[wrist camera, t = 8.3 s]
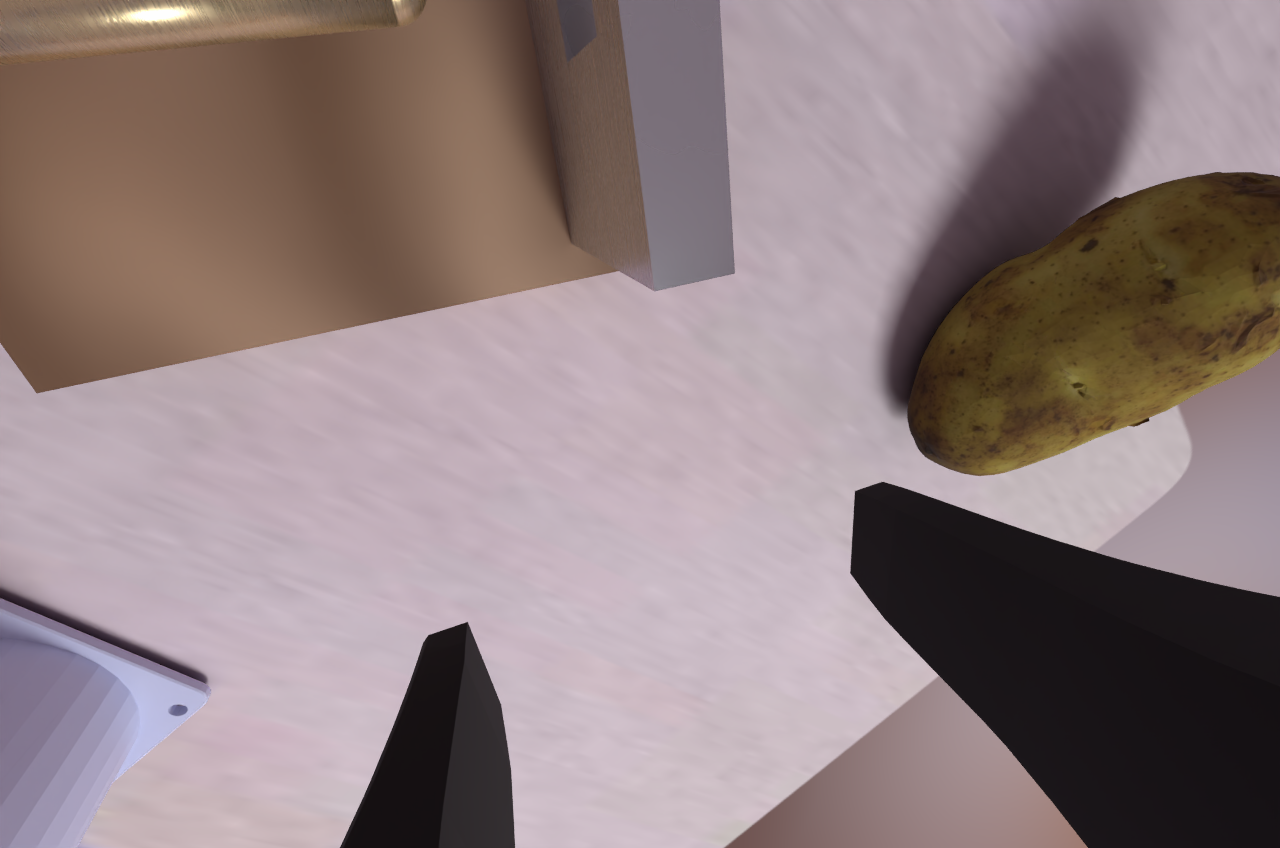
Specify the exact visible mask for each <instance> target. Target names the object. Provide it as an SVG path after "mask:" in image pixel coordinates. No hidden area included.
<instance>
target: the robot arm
mask: <svg viewBox="0 0 1280 848" xmlns="http://www.w3.org/2000/svg"><path fill="white" fill-rule="evenodd" d="M850 573H851V575H852V576H853V577H854V579H855V580H856V582H857V583H858V584H859V586H860V587H861V588H862V590H863V591H864V593H865V594H866V595H867V597H868V598H869V599H870V601H871V602H872V603H873V604H874V606H875V607H876V608H877V610H878V611H879V612H880V613H881V615H882V616H883V617H884V619H885V620H886V621H887V622H888V623H889V624H890V625H891V626H892V627H893V628H894V629H895V630H896V631H897V632H898V634H899V635H900V636H901V637H902V638H903V639H904V640H905V641H906V642H907V643H908V644H909V645H910V646H911V647H912V648H913V649H914V650H915V651H916V652H917V653H918V654H919V655H920V656H921V657H922V659H923V660H924V661H925V662H926V663H927V664H928V665H929V666H930V667H931V668H932V669H933V670H934V671H935V672H936V673H937V674H938V675H939V676H940V677H941V678H942V679H943V680H944V681H945V682H946V683H947V684H948V685H949V686H950V687H951V688H952V689H953V690H954V691H955V692H956V693H957V694H958V695H959V696H960V698H962V700H964V702H965V703H966V704H967V705H968V706H969V707H970V708H971V709H972V710H973V711H974V712H975V713H976V714H977V715H978V716H979V717H980V718H981V719H982V720H983V721H984V722H985V723H986V724H987V726H988V727H989V728H990V729H991V730H992V731H993V732H994V733H995V734H996V735H997V737H999V739H1000V740H1001V741H1002V742H1003V743H1004V744H1005V745H1006V746H1007V748H1008V749H1009V750H1010V751H1011V752H1012V754H1013V755H1014V756H1015V757H1016V758H1017V760H1018V761H1019V762H1020V763H1021V765H1022V766H1023V767H1024V768H1025V769H1026V771H1027V772H1028V773H1029V774H1030V776H1031V777H1032V778H1033V779H1034V780H1035V782H1036V783H1037V784H1038V785H1039V786H1040V788H1041V789H1042V790H1043V791H1044V792H1045V794H1046V795H1047V796H1048V797H1049V798H1050V799H1051V801H1052V802H1053V803H1054V805H1055V806H1056V807H1057V809H1058V810H1059V811H1060V812H1061V814H1062V815H1063V816H1064V817H1065V819H1066V820H1067V821H1068V823H1069V824H1070V825H1071V827H1072V828H1073V829H1074V830H1075V831H1076V833H1077V834H1078V835H1079V837H1080V838H1081V839H1082V840H1083V842H1084V843H1085V844H1086V846H1087V847H1088V848H1280V597H1277V596H1272V595H1267V594H1261V593H1256V592H1251V591H1246V590H1242V589H1237V588H1233V587H1228V586H1223V585H1219V584H1214V583H1210V582H1206V581H1201V580H1197V579H1193V578H1189V577H1185V576H1181V575H1177V574H1173V573H1169V572H1165V571H1161V570H1157V569H1153V568H1150V567H1146V566H1142V565H1138V564H1134V563H1130V562H1127V561H1123V560H1119V559H1116V558H1112V557H1109V556H1105V555H1102V554H1099V553H1096V552H1092V551H1089V550H1086V549H1082V548H1079V547H1076V546H1073V545H1069V544H1066V543H1063V542H1059V541H1056V540H1053V539H1050V538H1047V537H1044V536H1041V535H1038V534H1035V533H1032V532H1029V531H1026V530H1023V529H1020V528H1017V527H1014V526H1011V525H1008V524H1005V523H1002V522H999V521H996V520H994V519H991V518H988V517H985V516H982V515H979V514H976V513H974V512H971V511H968V510H965V509H962V508H960V507H957V506H954V505H951V504H948V503H945V502H943V501H940V500H937V499H934V498H931V497H928V496H925V495H923V494H920V493H917V492H914V491H911V490H908V489H905V488H902V487H898V486H895V485H892V484H888V483H885V482H881V483H878V484H875V485H872V486H869V487H866V488H863V489H860V490H857V491H855V502H854V519H853V537H852V554H851V572H850ZM210 694H211V689H210V687H209V686H208V685H206V684H205V683H203V682H200V681H198V680H196V679H193V678H191V677H188V676H186V675H184V674H181V673H179V672H176V671H174V670H172V669H169V668H167V667H165V666H162V665H160V664H157V663H155V662H153V661H150V660H148V659H145V658H143V657H141V656H138V655H136V654H133V653H131V652H129V651H126V650H124V649H121V648H119V647H117V646H114V645H112V644H109V643H107V642H105V641H102V640H100V639H97V638H95V637H93V636H90V635H88V634H85V633H83V632H81V631H78V630H76V629H73V628H71V627H69V626H66V625H64V624H61V623H59V622H57V621H54V620H52V619H49V618H47V617H45V616H42V615H40V614H37V613H35V612H33V611H30V610H28V609H25V608H23V607H21V606H18V605H16V604H13V603H11V602H9V601H6V600H4V599H1V598H0V848H77V847H78V845H79V843H80V841H81V840H82V838H83V836H84V834H85V832H86V830H87V829H88V827H89V825H90V823H91V821H92V820H93V818H94V816H95V814H96V812H97V810H98V809H99V807H100V805H101V803H102V801H103V799H104V798H105V796H106V794H107V792H108V790H109V788H110V787H111V785H112V783H113V782H114V781H115V780H116V779H117V778H119V777H120V776H121V775H122V774H123V773H125V772H126V771H127V770H128V769H129V768H130V767H132V766H133V765H134V764H135V763H136V762H138V761H139V760H140V759H141V758H142V757H143V756H145V755H146V754H147V753H148V752H149V751H151V750H152V749H153V748H154V747H155V746H157V745H158V744H159V743H160V742H161V741H162V740H164V739H165V738H166V737H167V736H168V735H170V734H171V733H172V732H173V731H174V730H175V729H177V728H178V727H179V726H180V725H181V724H183V723H184V722H185V721H186V720H187V719H189V718H190V717H191V716H192V715H193V714H194V713H196V712H197V711H198V710H199V709H200V708H202V707H203V706H204V705H205V704H206V702H207V701H208V698H209V696H210ZM178 704H180V705H184V706H179V705H178ZM340 848H515V838H514V818H513V799H512V780H511V767H510V760H509V753H508V747H507V740H506V733H505V727H504V721H503V715H502V708H501V704H500V701H499V699H498V696H497V694H496V691H495V689H494V686H493V684H492V681H491V679H490V676H489V674H488V671H487V669H486V666H485V664H484V661H483V659H482V656H481V654H480V651H479V649H478V647H477V644H476V642H475V639H474V637H473V634H472V632H471V629H470V627H469V624H468V622H466V623H463V624H460V625H457V626H454V627H451V628H449V629H446V630H443V631H440V632H437V633H434V634H431V635H428V637H427V638H426V640H425V641H424V643H423V646H422V649H421V652H420V655H419V658H418V661H417V663H416V666H415V669H414V672H413V675H412V678H411V681H410V683H409V686H408V689H407V692H406V694H405V697H404V700H403V702H402V705H401V707H400V710H399V713H398V715H397V718H396V721H395V723H394V726H393V728H392V731H391V733H390V735H389V738H388V740H387V743H386V745H385V748H384V750H383V752H382V755H381V757H380V760H379V762H378V764H377V767H376V769H375V772H374V774H373V776H372V779H371V781H370V784H369V786H368V788H367V790H366V793H365V795H364V797H363V799H362V802H361V804H360V806H359V808H358V810H357V812H356V814H355V817H354V819H353V821H352V823H351V825H350V827H349V829H348V832H347V834H346V836H345V838H344V840H343V842H342V845H341V847H340Z"/></svg>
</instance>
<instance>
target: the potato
mask: <svg viewBox="0 0 1280 848" xmlns="http://www.w3.org/2000/svg"><path fill="white" fill-rule="evenodd" d="M1278 349H1280V177H1278V176H1274V175H1265V174H1258V173H1254V172H1235V173H1221V172H1215V173H1210V174H1205V175H1197V176H1192V177H1186V178H1182V179H1177V180H1173V181H1169V182H1165V183H1162V184H1158V185H1155V186H1152V187H1149V188H1146V189H1143V190H1140V191H1137V192H1135V193H1132V194H1129V195H1127V196H1124V197H1122V198H1118V197H1115V198H1114V199H1112V200H1110V201H1108V202H1107V203H1105V204H1103V205H1101V206H1099V207H1098V208H1096V209H1094V210H1092V211H1091V212H1090V213H1088V214H1086V215H1084V216H1082V217H1080V218H1079V219H1078V220H1077V221H1076V222H1075V223H1073V224H1072V225H1071V226H1070V227H1068V228H1067V229H1066V230H1064V231H1063V232H1062V233H1061V234H1060V235H1059V236H1058V237H1056V238H1055V239H1054V240H1053V241H1052V242H1050V243H1049V244H1048V245H1046V246H1044V247H1042V248H1041V249H1038V250H1036V251H1034V252H1032V253H1029V254H1026V255H1023V256H1020V257H1017V258H1014V259H1012V260H1009V261H1007V262H1005V263H1003V264H1001V265H1000V266H998V267H996V268H995V269H993V270H992V271H991V272H989V273H988V274H987V275H986V276H984V277H983V278H982V279H981V280H980V281H979V282H978V283H976V284H975V285H974V286H973V287H972V288H971V289H970V290H969V291H968V292H967V293H966V294H965V295H964V296H963V297H962V298H961V300H960V301H959V302H958V303H957V304H956V305H955V306H954V307H953V309H952V310H951V311H950V312H949V313H948V315H947V316H946V318H945V319H944V320H943V322H942V323H941V325H940V326H939V327H938V329H937V331H936V332H935V334H934V336H933V337H932V339H931V341H930V343H929V345H928V347H927V349H926V351H925V352H924V354H923V357H922V360H921V362H920V365H919V368H918V372H917V375H916V378H915V381H914V384H913V388H912V392H911V396H910V399H909V403H908V423H909V428H910V431H911V434H912V436H913V438H914V440H915V443H916V445H917V447H918V449H919V450H920V452H921V453H922V454H923V455H924V456H925V457H927V458H928V459H930V460H932V461H933V462H935V463H937V464H939V465H941V466H944V467H946V468H948V469H951V470H954V471H957V472H960V473H964V474H970V475H976V476H984V475H995V474H1000V473H1005V472H1008V471H1011V470H1014V469H1018V468H1021V467H1024V466H1027V465H1030V464H1032V463H1035V462H1038V461H1041V460H1044V459H1047V458H1049V457H1052V456H1055V455H1058V454H1060V453H1063V452H1065V451H1068V450H1070V449H1072V448H1075V447H1077V446H1079V445H1082V444H1084V443H1086V442H1088V441H1091V440H1093V439H1095V438H1098V437H1100V436H1103V435H1105V434H1108V433H1110V432H1113V431H1116V430H1119V429H1121V428H1124V427H1127V426H1138V425H1140V424H1142V423H1145V422H1148V421H1149V418H1150V417H1152V416H1154V415H1156V414H1159V413H1161V412H1164V411H1166V410H1168V409H1170V408H1172V407H1174V406H1176V405H1178V404H1180V403H1182V402H1183V401H1185V400H1187V399H1188V398H1190V397H1191V396H1193V395H1195V394H1197V393H1199V392H1201V391H1203V390H1205V389H1206V388H1208V387H1211V386H1213V385H1216V384H1218V383H1221V382H1223V381H1225V380H1228V379H1230V378H1232V377H1234V376H1236V375H1239V374H1240V373H1243V372H1245V371H1247V370H1248V369H1250V368H1252V367H1254V366H1256V365H1257V364H1259V363H1260V362H1262V361H1263V360H1265V359H1266V358H1268V357H1269V356H1270V355H1272V354H1273V353H1275V352H1276V351H1277V350H1278Z"/></svg>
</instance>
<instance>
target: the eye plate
mask: <svg viewBox="0 0 1280 848" xmlns="http://www.w3.org/2000/svg"><path fill="white" fill-rule="evenodd" d="M525 2H526V7H527V12H528V18H529V23H530V28H531V33H532V39H533V44H534V49H535V55H536V60H537V65H538V70H539V76H540V81H541V86H542V91H543V97H544V102H545V107H546V112H547V118H548V123H549V128H550V133H551V139H552V144H553V149H554V154H555V160H556V165H557V170H558V175H559V181H560V186H561V191H562V196H563V202H564V207H565V212H566V217H567V223H568V228H569V233H570V239H571V244H573V245H575V246H576V247H578V248H580V249H582V250H583V251H585V252H587V253H589V254H590V255H592V256H594V257H596V258H597V259H599V260H601V261H603V262H604V263H606V264H608V265H610V266H611V267H613V268H615V269H617V270H618V271H620V272H622V273H624V274H625V275H627V276H629V277H631V278H632V279H634V280H636V281H638V282H639V283H641V284H643V285H645V286H646V287H648V288H650V289H652V290H653V291H658V290H662V289H667V288H671V287H676V286H680V285H685V284H689V283H694V282H698V281H703V280H707V279H712V278H716V277H721V276H725V275H730V274H734V273H735V269H734V251H733V233H732V216H731V198H730V180H729V162H728V144H727V126H726V108H725V90H724V73H723V55H722V37H721V19H720V1H719V0H525Z"/></svg>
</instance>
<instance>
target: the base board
mask: <svg viewBox="0 0 1280 848" xmlns="http://www.w3.org/2000/svg"><path fill="white" fill-rule="evenodd" d="M616 271H618V270H617V269H615V268H613V267H611V266H610V265H608V264H606V263H604V262H603V261H601V260H599V259H597V258H596V257H594V256H592V255H590V254H589V253H587V252H585V251H583V250H582V249H580V248H578V247H576V246H575V245H573V244H571V239H570V233H569V228H568V223H567V217H566V212H565V207H564V202H563V196H562V191H561V186H560V181H559V175H558V170H557V165H556V160H555V154H554V149H553V144H552V139H551V133H550V128H549V123H548V118H547V112H546V107H545V102H544V97H543V91H542V86H541V81H540V76H539V70H538V65H537V60H536V55H535V49H534V44H533V39H532V33H531V28H530V23H529V18H528V12H527V7H526V2H525V0H427V2H426V5H425V8H424V10H423V12H422V13H421V15H420V16H419V18H417V19H416V20H415V21H414V22H413V23H411V24H409V25H406V26H402V27H393V28H382V29H372V30H362V31H352V32H341V33H331V34H321V35H310V36H300V37H290V38H280V39H269V40H259V41H249V42H239V43H228V44H218V45H208V46H198V47H187V48H177V49H167V50H156V51H146V52H136V53H126V54H115V55H105V56H95V57H85V58H74V59H64V60H54V61H43V62H33V63H23V64H13V65H2V66H0V343H1V344H2V346H3V347H4V349H5V350H6V351H7V353H8V354H9V356H10V357H11V358H12V360H13V361H14V362H15V364H16V365H17V367H18V368H19V369H20V371H21V372H22V373H23V375H24V376H25V378H26V379H27V380H28V382H29V383H30V385H31V386H32V387H33V389H34V390H35V391H36V393H40V392H45V391H50V390H55V389H59V388H64V387H69V386H74V385H78V384H83V383H88V382H93V381H97V380H102V379H107V378H112V377H116V376H121V375H126V374H131V373H135V372H140V371H145V370H150V369H154V368H159V367H164V366H169V365H173V364H178V363H183V362H188V361H192V360H197V359H202V358H207V357H211V356H216V355H221V354H226V353H231V352H235V351H240V350H245V349H250V348H254V347H259V346H264V345H269V344H273V343H278V342H283V341H288V340H292V339H297V338H302V337H307V336H311V335H316V334H321V333H326V332H330V331H335V330H340V329H345V328H349V327H354V326H359V325H364V324H368V323H373V322H378V321H383V320H387V319H392V318H397V317H402V316H406V315H411V314H416V313H421V312H426V311H430V310H435V309H440V308H445V307H449V306H454V305H459V304H464V303H468V302H473V301H478V300H483V299H487V298H492V297H497V296H502V295H506V294H511V293H516V292H521V291H525V290H530V289H535V288H540V287H544V286H549V285H554V284H559V283H563V282H568V281H573V280H578V279H582V278H587V277H592V276H597V275H601V274H606V273H611V272H616Z"/></svg>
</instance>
